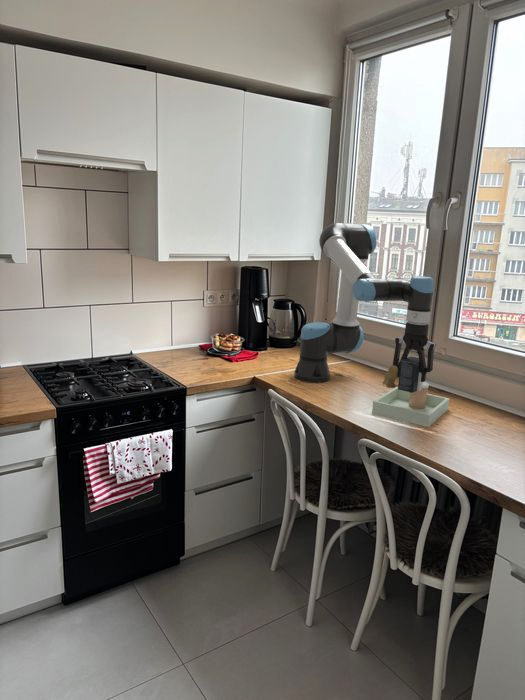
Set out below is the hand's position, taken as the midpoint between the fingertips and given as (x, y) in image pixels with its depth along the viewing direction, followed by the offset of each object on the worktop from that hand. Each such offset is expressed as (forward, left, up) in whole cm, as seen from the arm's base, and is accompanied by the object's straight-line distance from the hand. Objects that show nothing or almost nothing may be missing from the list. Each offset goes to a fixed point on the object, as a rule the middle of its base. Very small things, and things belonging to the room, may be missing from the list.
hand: (409, 388), depth 185 cm
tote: (0, +4, -10) cm, 11 cm away
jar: (0, +11, -10) cm, 14 cm away
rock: (-19, +30, -11) cm, 37 cm away
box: (0, 0, 0) cm, 0 cm away
